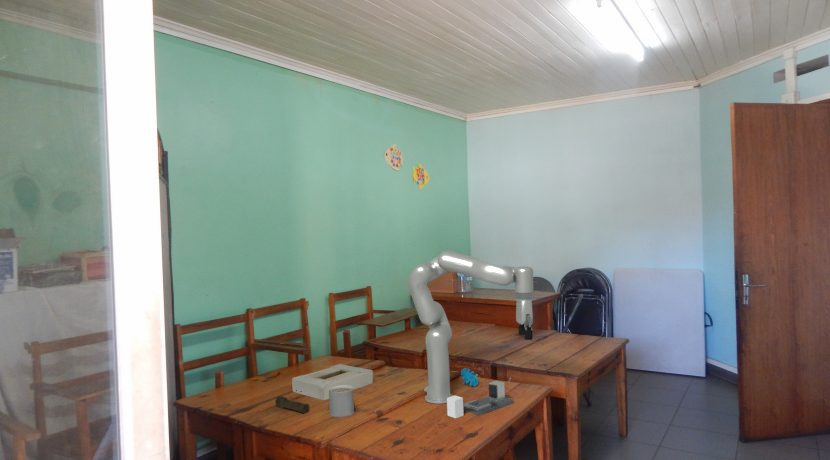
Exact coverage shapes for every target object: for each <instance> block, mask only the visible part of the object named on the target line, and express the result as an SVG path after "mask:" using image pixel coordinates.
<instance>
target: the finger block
mask: <svg viewBox="0 0 830 460" xmlns="http://www.w3.org/2000/svg"><path fill="white" fill-rule="evenodd" d="M464 404H465V400H464V398H463V397H461V396H458V395H453V396H451V397H448V398H447V403H446V409H447V410H446V411H447V415H446V416H448V417H451V418H454V419H457V418H460V417H463V416H464V412H465V410H464Z"/></svg>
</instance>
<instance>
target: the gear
mask: <svg viewBox="0 0 830 460" xmlns="http://www.w3.org/2000/svg"><path fill="white" fill-rule="evenodd" d="M460 376H462V380H464V381H463V382H462V384H463V385H465V384H468V383H469V386H470V387H476V386H478V385H479V381H480V380H479V379H478V377H479V375H478V374H477V373H476V374H475V372H474V371H473V370H472V371H471V369H470V368H466V367H465V368H463V369H461V373H460Z"/></svg>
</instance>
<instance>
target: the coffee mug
mask: <svg viewBox="0 0 830 460" xmlns="http://www.w3.org/2000/svg"><path fill="white" fill-rule="evenodd" d="M354 399H355V398H354V390H353V387H352V386H348V385H339V386H334V387H331V388H330V389H329V399H328V403H329V404H328V405H329V409H328V410H329V415H330V417H333V418H345V417H349V416H352V415H353V414H355V405H354V404H355V403H354V402H355V400H354Z"/></svg>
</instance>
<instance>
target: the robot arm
mask: <svg viewBox="0 0 830 460" xmlns="http://www.w3.org/2000/svg"><path fill="white" fill-rule="evenodd" d="M448 272H453V273H456V274H460V275H464V276H466V277H467V276H468V277H472V278H474V279H477V280H481V281H484V282H486V283H491V284H495V285H499V286H503V287H505V286H509V285H510V284H513V283H514V291H515V292H514V293H515V294H514V297H515V298H514V299H515V301H516V303H515V305H516V306H515V308H516V309H515V321H516V322H517V323H518V325H517V326H518V327H517V328H518V335H519V336H523V337H524V340H525V341H533V321H534V317H533V316H534V313H533V301H534V299H535V298H534V296H535V295H534V269H533V268H532V267H531V266H509V265H504V266H500V265H495V264H491V263H488V262H485V261H484V260H481V259H480V258H478V257H475V256H472V255H467V254H463V253H461V252H460V253H459V252H457V251H456V250H453V249H447V250H442V251H441V252H440V253H439V255H437V256H435V257H434V258H432V259H430V260H428V261H427V262H422V263H420V264H418V265H416V266H415V267H414V268H413V269H412V270H411V271H410V272H409V274H408V279H407V285H408V290H409V292H410V297H411V298H412V301H413V305H414V307H415V310H416V313H417V315H418V318H419V320H420V322H421V323H422V324H423V325H425V326H428V329H429V330H428V331H427V332H426V335H425V339H424V340H425V341H424V342H425V350H426V362H427V364H426V365H427V385H426V386H425V387H424V389H423V391H424V392H426V395H425V396H424V400H425V401H426V402H428V403H430V404H439V405H440V404H441V405H442V404H447V398H448V397H451V396H454V394H452V393H451V383H450V382H451V381H450V378H451V377H450V376H451V375H450V356H449V349H448V346H449V345H448V344H449V342H450V341H451V340H452V336H453V331H452V327H451V325H450V323H449V319H448V317H447V314H446V311H445V310H444V307H443V306H442V305H441V303H439V301H438V302H437V301H435V300H434V298H433V296H432V292H431V290H430V289H429V287H428V283H430V282H431V281H434V280H435V279H437V278H439V277H441V276H443V275H445V274H446V273H448Z"/></svg>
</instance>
